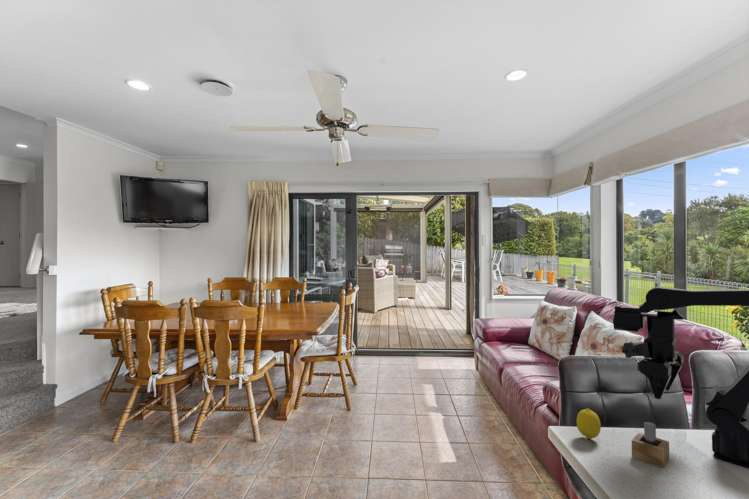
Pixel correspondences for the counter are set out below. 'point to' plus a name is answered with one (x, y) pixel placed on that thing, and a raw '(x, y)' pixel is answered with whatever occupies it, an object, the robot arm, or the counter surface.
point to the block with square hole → (650, 450)
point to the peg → (650, 433)
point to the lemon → (588, 423)
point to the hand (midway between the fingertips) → (662, 394)
